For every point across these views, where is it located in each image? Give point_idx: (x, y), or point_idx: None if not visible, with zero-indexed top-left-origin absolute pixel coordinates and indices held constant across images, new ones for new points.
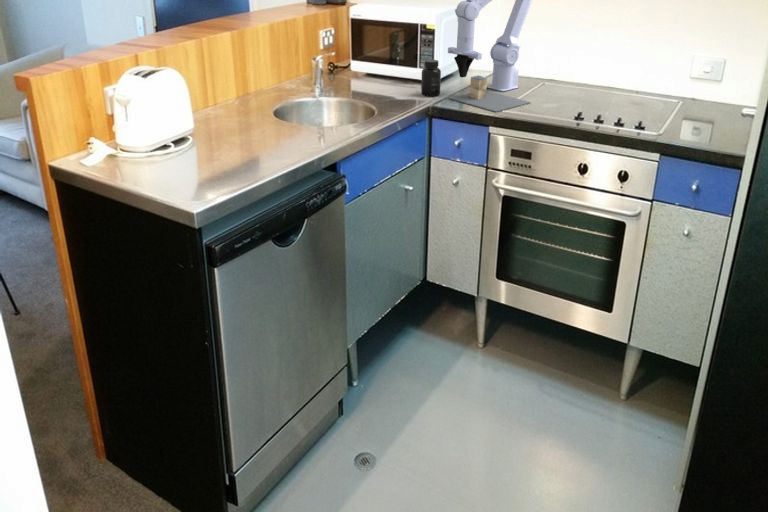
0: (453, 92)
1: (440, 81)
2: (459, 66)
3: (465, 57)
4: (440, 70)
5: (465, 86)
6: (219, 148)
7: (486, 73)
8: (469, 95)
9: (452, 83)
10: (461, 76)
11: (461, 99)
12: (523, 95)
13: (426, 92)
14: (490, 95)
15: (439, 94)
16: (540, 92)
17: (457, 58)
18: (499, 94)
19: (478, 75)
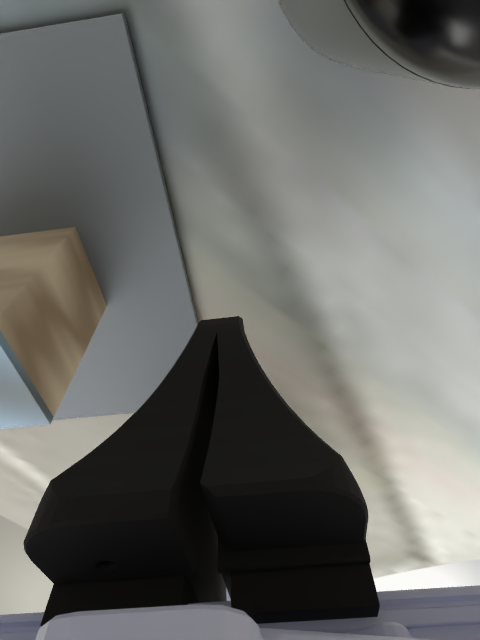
0: (294, 224)
1: (315, 19)
2: (225, 389)
3: (122, 582)
4: (393, 28)
5: (360, 380)
6: None
7: (452, 548)
8: (119, 254)
9: (475, 362)
10: (210, 323)
11: (11, 101)
12: (42, 480)
13: None
14: None
15: (281, 7)
16: None
17: (224, 484)
18: (73, 412)
19: (47, 421)
